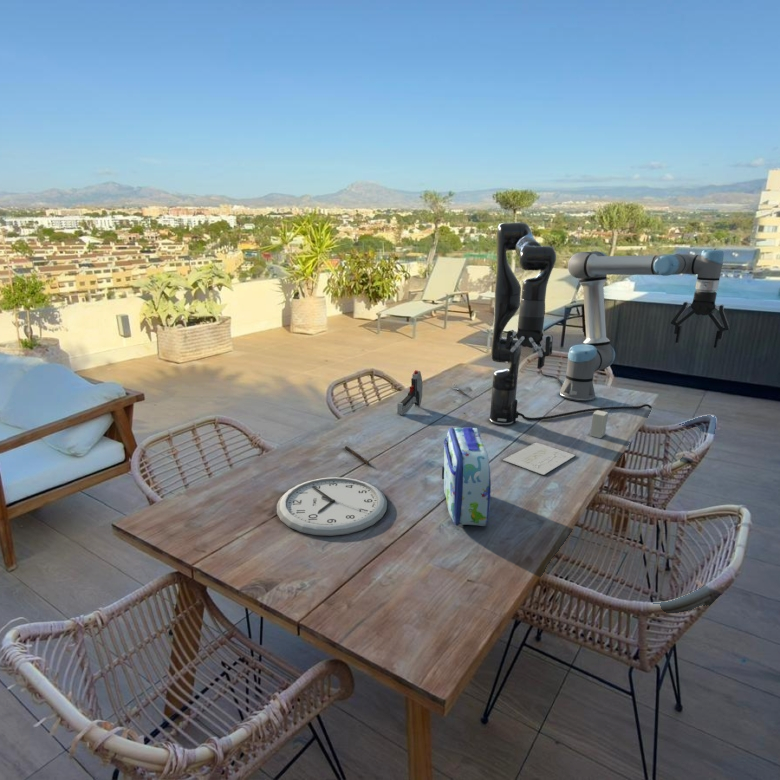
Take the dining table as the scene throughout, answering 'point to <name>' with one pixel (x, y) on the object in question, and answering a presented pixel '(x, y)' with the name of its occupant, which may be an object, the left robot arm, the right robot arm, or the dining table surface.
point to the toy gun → (412, 394)
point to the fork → (458, 389)
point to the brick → (598, 424)
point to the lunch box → (466, 477)
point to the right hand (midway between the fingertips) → (695, 344)
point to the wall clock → (331, 506)
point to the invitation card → (539, 458)
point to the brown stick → (357, 455)
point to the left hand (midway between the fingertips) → (526, 365)
